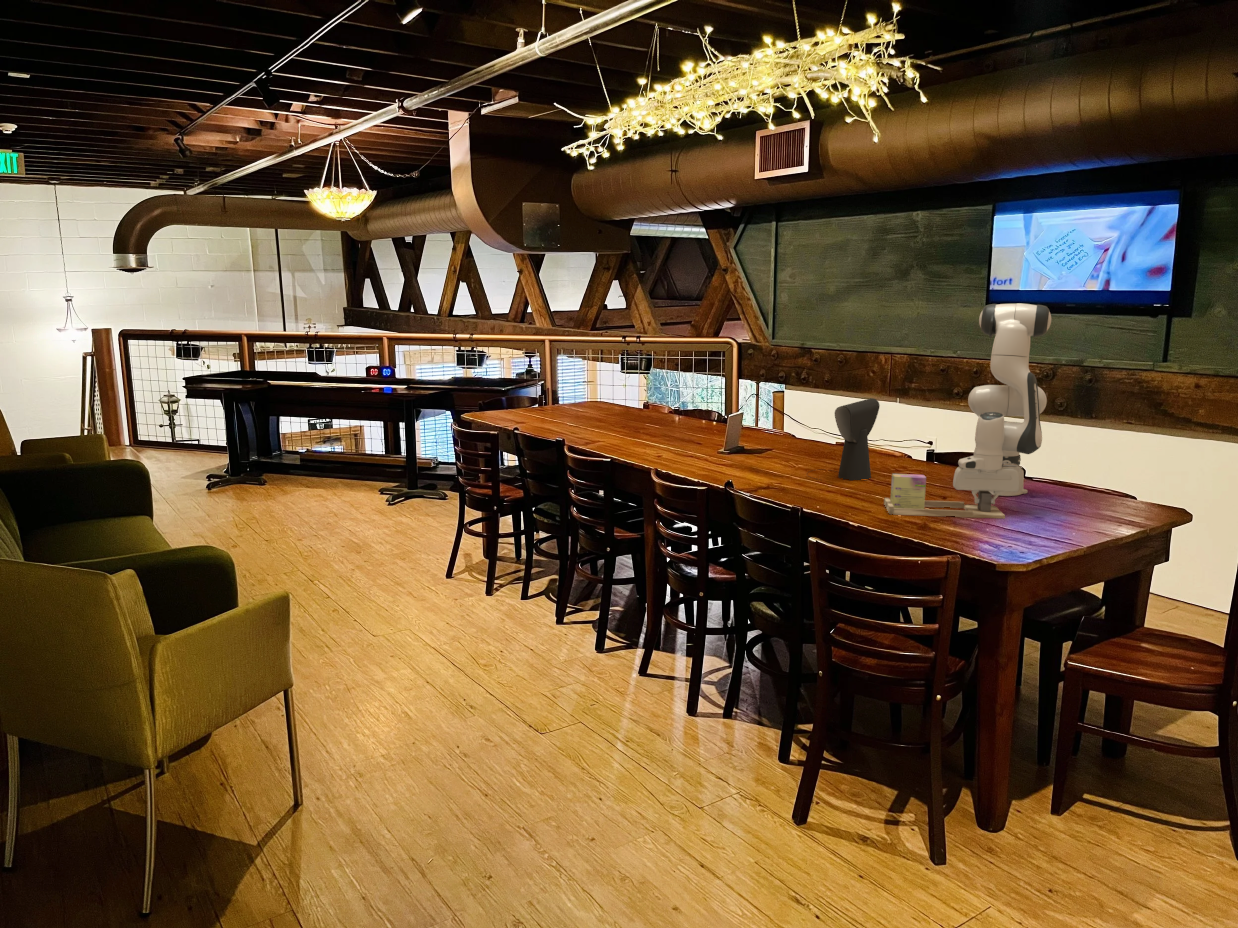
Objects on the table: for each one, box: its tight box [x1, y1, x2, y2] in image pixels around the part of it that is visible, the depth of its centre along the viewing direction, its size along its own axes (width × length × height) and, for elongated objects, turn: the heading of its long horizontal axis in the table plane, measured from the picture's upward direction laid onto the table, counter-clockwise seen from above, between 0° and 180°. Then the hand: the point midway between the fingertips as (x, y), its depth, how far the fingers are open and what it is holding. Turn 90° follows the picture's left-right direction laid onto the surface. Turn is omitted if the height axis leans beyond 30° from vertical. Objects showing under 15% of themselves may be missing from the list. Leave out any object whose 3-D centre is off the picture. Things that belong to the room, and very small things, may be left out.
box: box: [889, 473, 927, 509], centre depth 296 cm, size 10×6×12 cm, turn 80°
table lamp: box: [806, 397, 881, 481], centre depth 344 cm, size 40×28×30 cm
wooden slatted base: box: [883, 491, 1006, 520], centre depth 294 cm, size 14×36×7 cm, turn 80°
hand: (984, 503), depth 292 cm, fingers open, 3 cm apart
